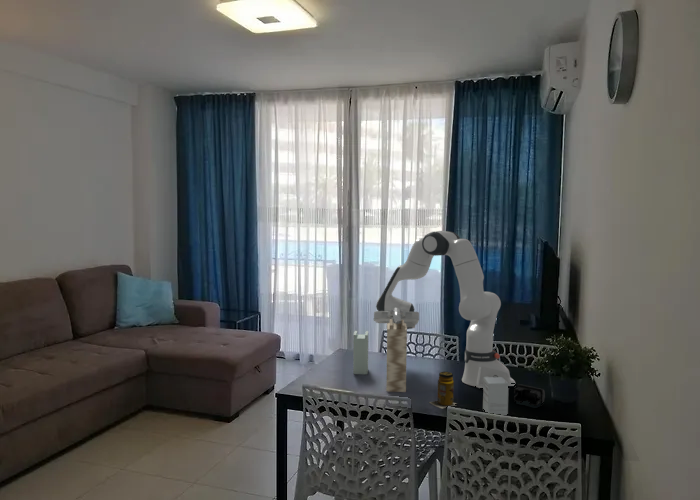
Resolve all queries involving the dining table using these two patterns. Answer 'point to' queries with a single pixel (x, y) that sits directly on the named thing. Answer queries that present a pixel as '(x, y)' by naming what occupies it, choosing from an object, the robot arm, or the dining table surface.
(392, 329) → the block
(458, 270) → the robot arm
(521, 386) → the end cap
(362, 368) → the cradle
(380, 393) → the dining table surface
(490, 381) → the supplement box
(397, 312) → the axle
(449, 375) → the condiment
